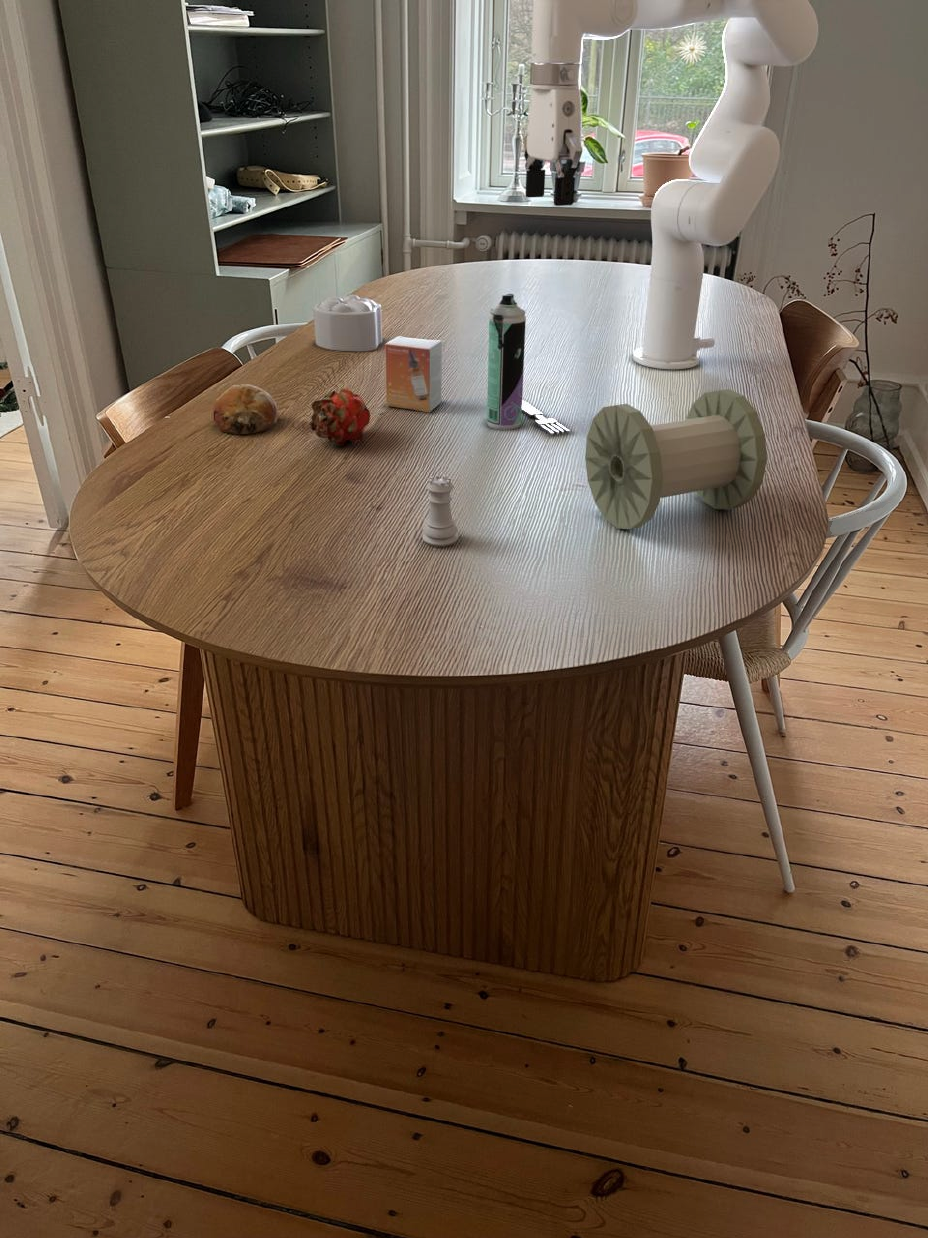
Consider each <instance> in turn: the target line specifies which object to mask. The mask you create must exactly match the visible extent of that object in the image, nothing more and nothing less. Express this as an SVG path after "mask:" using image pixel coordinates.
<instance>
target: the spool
mask: <svg viewBox="0 0 928 1238" xmlns="http://www.w3.org/2000/svg"><path fill="white" fill-rule="evenodd" d="M766 441H767V440H766V433H765V430H764V428H763V424H762V422H761V420H760V416H759V414H758V411H757V410H756V408H754V407H753V405H752V404H751V402H749V400H748V399H747V397H745V395H743V394H741V393H738V392H737V391H734V390H732V389H730V388H726V389H720V390H719V389H718V390H713V391H707V392H704V393H702V394H701V396H699V397H698V398H697V399H696V400H695V401H694V402H693V403H692V404H691V406H690V409H689V411H688V413H687V416H686V418H685V419H682V420H676V421H669V422H662V423H656V424H650V423H649V421H648V420H647V418H646V417H645V416H644V414H643V413H642V411H641V410H639V409H637V408H635V407H634V406H632V405H631V404H628V403H621V404H620V403H619V404H613V405H609V406H603V407H602V408H601V409H600V410H599V412H598V413H596V415H595V416H594V417H593V418H592V420H591V423H590V427H589V430H588V432H587V435H586V442H585V443H586V444H585V445H586V446H585V455H584V461H585V469H586V476H587V483H588V486H589V489H590V491H591V492H590V493H591V495H592V498H593V501H594V503H595V505H596V507H597V508H598V510H599V511H600V513H601V515H602V517H603V518H604V520H606V521H607V522H609V523H610V524H611V525H612V526H613V527H615V528H616V529H618V530H619V529H622V530H633V529H637V528H642V527H643V526H644V525H646V524H647V523H648V522H649V521H651V520H652V519H653V518H654V515H655V513H656V511H657V508H658V507H659V504H660V502H661V499H663V498H669V497H675V496H679V495H684V494H690V493H696V494H697V495H698V497H699V498H700V500H701V501H702V502H704V503H705V504H707V505H708V506H710V507H712V508H713V509H715V510H734V509H739V508H742V507H743V506H744V505H746V504H748V503H749V502H750V501H752V500H753V499H754V498H755V496H756V494H757V492H758V491H759V489H760V487H761V486H762V484H763V482H764V479H765V478H764V477H765V472H766V468H767V467H766V466H767V463H768V462H767V461H768V454H767V453H768V452H767V442H766Z"/></svg>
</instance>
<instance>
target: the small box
mask: <svg viewBox="0 0 928 1238" xmlns="http://www.w3.org/2000/svg"><path fill="white" fill-rule="evenodd" d="M384 362H385V364H384V365H385V367H384V368H385V405H386V407H393V408H400V409H406V410H413V411H419V412H422V413H423V412H424V413H431V412H432V411H433V410H434V409H436V408H437V407H438V406H439V405H440V404H441V403H443V402H442V398H443V397H442V396H443V395H442V393H443V391H442V390H443V389H442V388H443V386H442V385H443V341H442V340H438V339H436V340H435V339H426V338H425V339H424V338H414V337H406V336H401V335H398V336H396V337H394V338H393V339H391V340H389V341H388V342H386V343H385V345H384Z"/></svg>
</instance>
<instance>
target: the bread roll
mask: <svg viewBox="0 0 928 1238" xmlns="http://www.w3.org/2000/svg"><path fill="white" fill-rule="evenodd" d="M278 410H279V408H278V405H277V403H276V401H275V399H274V398H273V396H272V395H271V394H269V393H268V392H267V391H266V390H265V389H262V388H260V387H259V386H257V385H253V384H249V383H243V384H233V385H231V386H230V387H229V388H227V389H226V390H224V391H223V392H222V393H221V395H220V396H219V397H218V398H216V399H215V402H214V405H213V407H212V414H213V422H214V425H215V426H216V428H217V429H218V430H219V431H221V432H223V433H227V434H234V435H250V434H256V433H260V432H264V431H266V430H271V428H272V427H273V426H274V425H275V424H276V423H277V418H278Z"/></svg>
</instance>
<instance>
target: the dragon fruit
mask: <svg viewBox="0 0 928 1238" xmlns="http://www.w3.org/2000/svg"><path fill="white" fill-rule="evenodd" d="M311 409H312V411H313V413H312V415H311V416H310V418H311V422H310V423H309V426H310V430H311V431H315V434H316V436H317V437H318V438H322V439H327V440H328V442H329V444H332V445H335V446H337V447H342V446H343V445H344V444H345V443H346V442H347V441H350V442H352V443H355V442H357V441H358V443H360V442H361V441H362V440H363V439H364V433H363V431H364V430H365V428H366V427H367V426H368V425H369V424H370V420H371V411H370V410H369V408H368V406H366V403H365V401H364V400H363V398H362V397H361V396H360V395H359V393H356V392H354V393H353V390H351V389H349V388H345V387H344V388H342V389H340V390H339V391H338V392H337V391H336V390H333V391H330V392H329V393H327V394H325V395H324V397H323V398H322V399H317V400H314V401H313V402H311Z"/></svg>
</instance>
